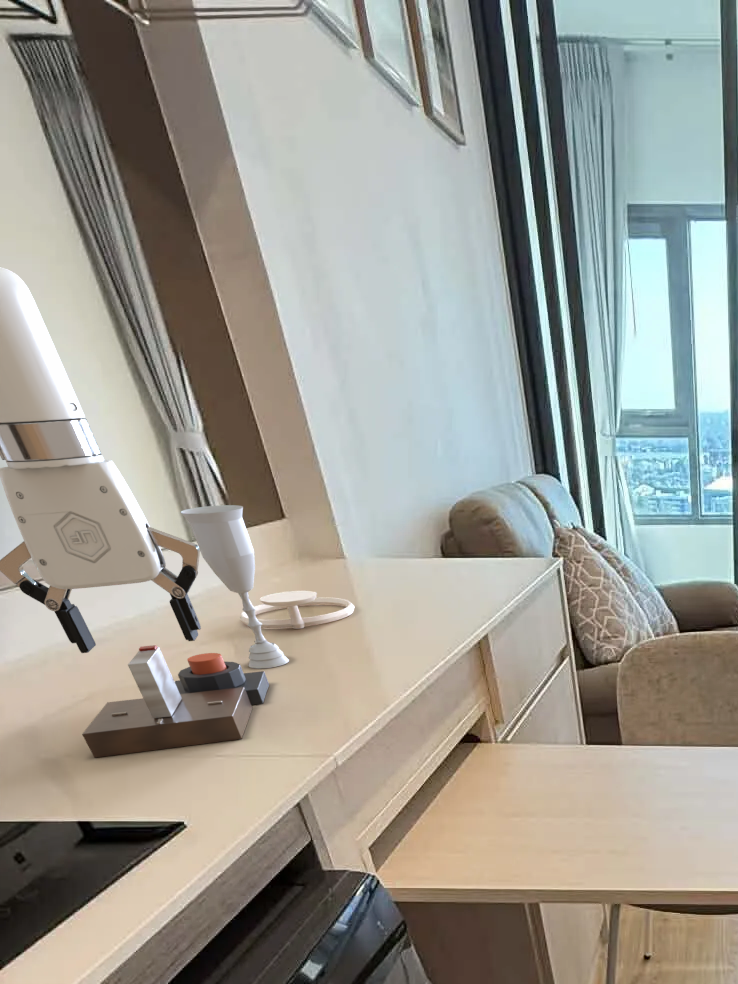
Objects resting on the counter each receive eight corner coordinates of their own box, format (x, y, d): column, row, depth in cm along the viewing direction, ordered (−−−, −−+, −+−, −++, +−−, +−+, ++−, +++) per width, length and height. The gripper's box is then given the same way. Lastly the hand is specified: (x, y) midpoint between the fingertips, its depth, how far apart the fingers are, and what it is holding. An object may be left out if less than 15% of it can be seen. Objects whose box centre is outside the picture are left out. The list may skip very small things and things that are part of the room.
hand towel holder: (346, 572, 141) (349, 596, 126) (354, 600, 144) (358, 627, 129) (234, 581, 136) (223, 607, 121) (245, 611, 139) (236, 640, 124)
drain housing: (169, 714, 98) (155, 683, 96) (181, 694, 104) (168, 665, 102) (263, 703, 101) (251, 673, 99) (269, 684, 107) (258, 655, 104)
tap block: (94, 758, 88) (80, 732, 86) (118, 724, 96) (106, 700, 94) (241, 739, 91) (231, 714, 90) (252, 708, 99) (243, 685, 98)
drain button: (191, 678, 99) (184, 662, 98) (196, 670, 101) (189, 654, 100) (225, 674, 100) (219, 659, 98) (229, 666, 102) (223, 651, 101)
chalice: (281, 670, 112) (224, 513, 100) (230, 671, 112) (168, 514, 100) (305, 655, 117) (253, 504, 106) (256, 655, 117) (200, 505, 106)
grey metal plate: (171, 716, 90) (146, 659, 86) (152, 718, 89) (126, 662, 86) (182, 698, 95) (158, 644, 91) (164, 700, 94) (139, 646, 90)
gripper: (-80, 455, 72) (35, 664, 83) (146, 442, 76) (228, 642, 87) (-47, 449, 78) (56, 645, 88) (162, 437, 82) (236, 625, 93)
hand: (141, 643), depth 88 cm, fingers open, 9 cm apart
